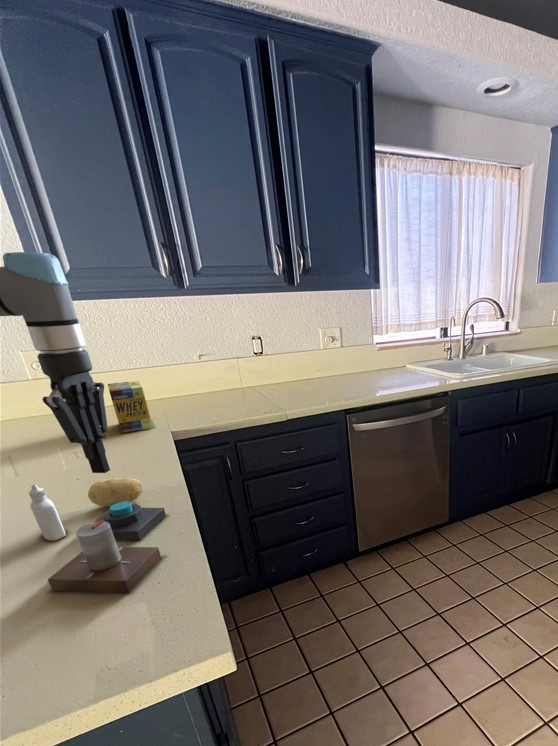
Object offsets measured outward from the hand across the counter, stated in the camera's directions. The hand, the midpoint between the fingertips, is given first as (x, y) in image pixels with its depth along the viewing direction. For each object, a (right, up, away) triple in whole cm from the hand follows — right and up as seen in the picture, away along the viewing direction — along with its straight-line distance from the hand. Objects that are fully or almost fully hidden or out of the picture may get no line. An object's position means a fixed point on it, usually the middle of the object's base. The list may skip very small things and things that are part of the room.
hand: (101, 471), depth 86 cm
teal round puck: (+1, -9, +5) cm, 10 cm away
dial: (+7, -17, -10) cm, 20 cm away
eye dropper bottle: (-13, -14, +4) cm, 19 cm away
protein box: (-37, +19, +76) cm, 87 cm away
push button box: (+1, -12, +6) cm, 14 cm away
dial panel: (+7, -19, -9) cm, 22 cm away
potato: (-7, -8, +17) cm, 20 cm away
